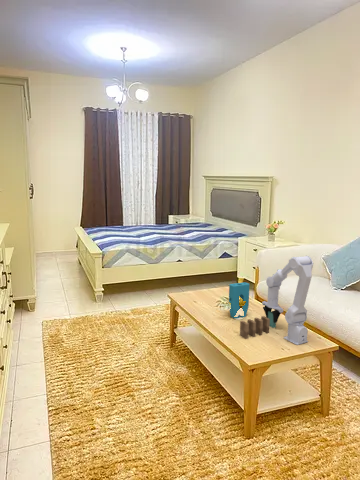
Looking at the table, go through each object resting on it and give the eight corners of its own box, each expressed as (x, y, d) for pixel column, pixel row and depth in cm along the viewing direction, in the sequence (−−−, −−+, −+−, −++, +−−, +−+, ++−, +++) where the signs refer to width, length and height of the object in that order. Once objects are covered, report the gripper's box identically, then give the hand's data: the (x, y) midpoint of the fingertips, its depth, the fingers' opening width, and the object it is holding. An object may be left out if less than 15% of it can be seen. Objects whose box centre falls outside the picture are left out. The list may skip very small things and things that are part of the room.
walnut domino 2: (255, 336, 192) (256, 322, 191) (253, 337, 192) (253, 322, 190) (249, 333, 197) (249, 319, 195) (246, 333, 196) (247, 319, 195)
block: (244, 313, 226) (245, 282, 223) (248, 316, 221) (250, 284, 218) (227, 316, 221) (228, 284, 218) (232, 319, 216) (233, 286, 213)
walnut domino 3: (262, 334, 195) (263, 320, 193) (260, 335, 194) (260, 321, 193) (256, 331, 199) (256, 317, 198) (253, 332, 198) (254, 317, 197)
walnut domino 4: (269, 333, 197) (269, 319, 196) (266, 333, 196) (267, 319, 195) (262, 329, 201) (263, 315, 200) (260, 330, 201) (261, 316, 199)
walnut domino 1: (248, 338, 190) (248, 323, 189) (245, 339, 189) (246, 324, 188) (242, 334, 194) (242, 320, 193) (239, 335, 194) (240, 321, 192)
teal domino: (275, 327, 205) (276, 313, 203) (273, 328, 204) (274, 314, 203) (269, 324, 209) (270, 311, 208) (267, 324, 208) (268, 311, 207)
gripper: (287, 300, 200) (286, 323, 202) (269, 293, 212) (268, 315, 214) (278, 302, 196) (276, 326, 198) (259, 294, 209) (258, 317, 211)
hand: (271, 320), depth 206 cm, fingers closed on teal domino, 5 cm apart
